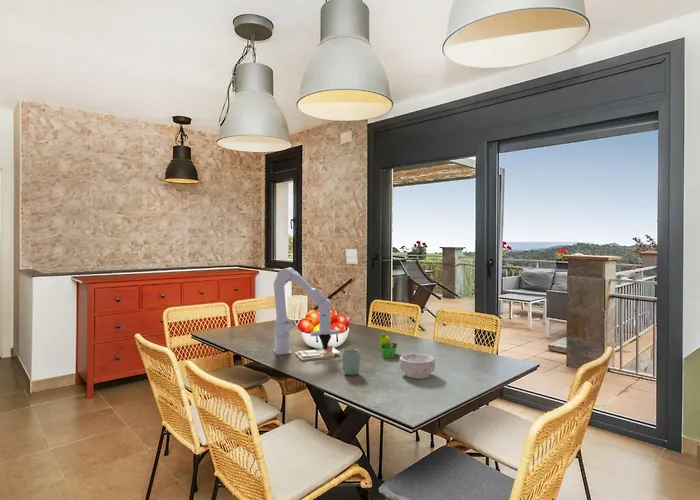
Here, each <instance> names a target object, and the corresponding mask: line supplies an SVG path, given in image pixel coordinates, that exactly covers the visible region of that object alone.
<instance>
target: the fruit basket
mask: <svg viewBox="0 0 700 500" xmlns="http://www.w3.org/2000/svg"><path fill="white" fill-rule="evenodd" d="M378 338H379V344H380V345H381V346H380V350H381V353H382V358H384V359H385V358H386V359H394V357H395V354H396V351H397V348H398V347H397V346H398V343H395V342H391V337H390V336H388V335H386V334H385V332H383V333H380V335H379V337H378Z"/></svg>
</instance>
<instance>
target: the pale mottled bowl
mask: <svg viewBox="0 0 700 500" xmlns="http://www.w3.org/2000/svg"><path fill="white" fill-rule="evenodd" d="M435 367H436V359H435V357H434V356H431V355H428V354H423V353H420V354H419V353H407V354H406V353H405V354H403V355H401V356H399V370H400V371H403V372H404V375H405V376H406V377H408V378H411V379H416V380H417V379H418V380H419V379H420V380H421V379H422V380H423V379H426V378H428V377H429V376H430V375H431V373H433V372H435V371H436V368H435Z"/></svg>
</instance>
